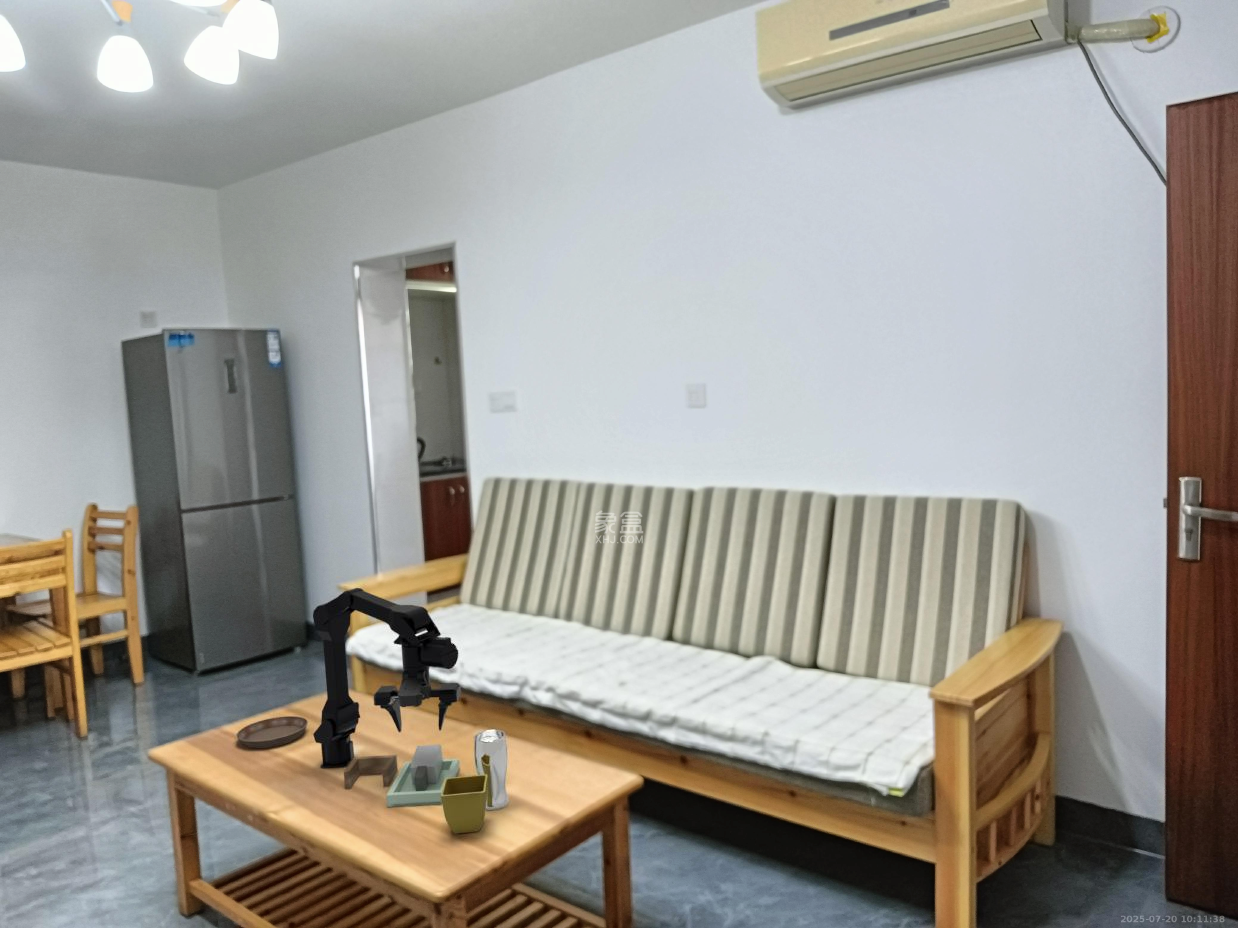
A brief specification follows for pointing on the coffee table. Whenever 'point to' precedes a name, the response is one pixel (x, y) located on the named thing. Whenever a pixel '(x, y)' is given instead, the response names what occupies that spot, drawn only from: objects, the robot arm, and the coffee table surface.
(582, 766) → the coffee table surface
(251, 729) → the plant saucer
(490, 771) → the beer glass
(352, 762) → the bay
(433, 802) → the tray
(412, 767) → the grey stepped block
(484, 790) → the flower pot
